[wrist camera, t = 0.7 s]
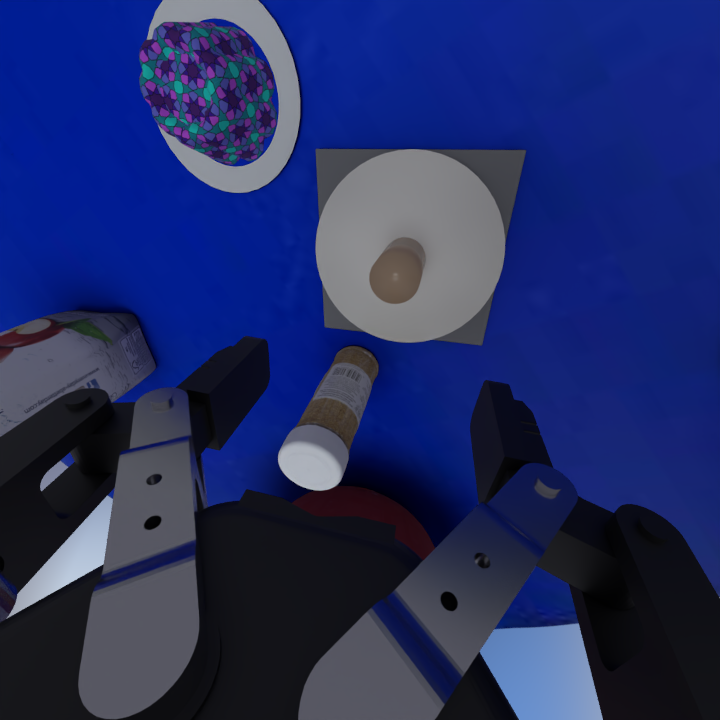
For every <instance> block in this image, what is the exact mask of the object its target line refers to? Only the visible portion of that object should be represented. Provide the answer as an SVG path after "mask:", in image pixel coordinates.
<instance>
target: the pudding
mask: <svg viewBox="0 0 720 720" xmlns="http://www.w3.org/2000/svg"><path fill="white" fill-rule="evenodd" d="M211 18H217V19H225V20H227V21H230V22H233V23H235V24H236V25H238V26H240V27H241V28H243V29H244V30H245V31H246V32H247V33H249V34H250V35H251V36H252V37H253V38H254V40H255V41H256V42H257V43H258V45H259V46H260V47H261V49H262V50H263V52H264V54H265V56H266V57H267V59H268V61H269V64H270V66H271V68H272V71H273V73H274V77H275V81H276V85H277V90H278V98H279V116H278V124H277V128H276V132H275V135H274V138H273V140H272V142H271V144H270V146H269V148H268V149H267V150H266V152H265V153H264V154H263V155H262V156H261V157H260V158H259V159H258V160H256V161H255V162H253V163H251V164H248V165H245V166H240V167H232V166H226V165H223V164H220V163H218V162H216V161H214V160H212V159H211V158H213V159H215V160H217V161H220V162H222V163H224V164H235V163H236V162H237V161H238V160H239V159H240V158H242V159H245V160H247V161H252V160H255V159H257V158H258V157H259V156H260V155H261V153H262V152H263V144H264V139H265V138H267V137H269V136H271V135H272V134H273V132H274V129H275V127H276V118H277V112H276V110H275V108H274V106H273V103H272V101H271V98H272V94H273V91H274V81H273V76H272V73H271V71H270V69H269V67H268V65H267V63H266V62H265V61H263V60H261V59H259V58H258V57H256V56H255V53H254V49H253V45H252V41H251V40H250V39H249V38H248V36H247V35H246V34H245V33H244V32H243V31H241V30H239V29H236V28H234V27H217V26H216V25H215V24H214V23H201V22H200V21H202V20H205V19H211ZM139 60H140V63H141V67H142V73H141V75H140V78H139V81H140V89H141V92H142V94H143V97H144V99H145V100H146V101H147V102H148V103H149V104H150V105H151V109H152V114H153V117H154V119H155V121H156V122H157V124H158V126H159V128H160V131H161V133H162V135H163V136H164V138H165V140H166V142H167V144H168V145H169V147H170V148H171V150H172V151H173V153H174V154H175V155H176V157H177V158H178V159H179V161H180V162H181V163H182V164H183V165H184V166H185V167H186V168H187V169H188V170H189V171H190V172H191V173H192V174H194V175H195V176H196V177H197V178H199V179H200V180H201V181H203V182H205V183H206V184H208V185H210V186H212V187H214V188H217V189H220V190H222V191H227V192H233V193H242V192H250V191H253V190H257V189H259V188H261V187H263V186H264V185H266V184H268V183H269V182H270V181H272V180H273V179H274V178H275V177H276V176H277V175H278V174H279V173H280V171H281V170H282V169H283V167H284V166H285V165H286V163H287V161H288V159H289V157H290V155H291V153H292V151H293V148H294V145H295V141H296V138H297V134H298V128H299V121H300V92H299V84H298V77H297V73H296V69H295V65H294V61H293V58H292V55H291V53H290V50H289V47H288V45H287V42H286V40H285V38H284V36H283V34H282V32H281V31H280V29H279V27H278V25H277V23H276V22H275V20H274V19H273V18H272V16H271V15H270V14H269V12H268V11H267V10H266V8H265V7H264V6H263V5H262V4H261V3H260V2H259V1H258V0H163V1H162V2H161V4H160V5H159V7H158V9H157V10H156V12H155V15H154V17H153V20H152V22H151V25H150V28H149V33H148V37H147V40H145V41H144V43H143V44H142V46H141V48H140V55H139ZM208 156H209V157H211V158H209V157H208Z"/></svg>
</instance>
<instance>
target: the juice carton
mask: <svg viewBox="0 0 720 720" xmlns="http://www.w3.org/2000/svg"><path fill="white" fill-rule="evenodd" d="M155 368H156V365H155V362H154V359H153V357H152V355H151V353H150V350H149V348H148V346H147V344H146V341H145V339H144V336H143V334H142V331H141V328H140V326H139V323H138V321H137V319H136V317H135V316H134V315H133V314H127V313H99V312H91V311H81V310H73V311H66V312H61V313H56V314H52V315H48V316H45V317H42V318H39V319H36V320H33V321H31V322H28V323H25V324H23V325H20V326H18V327H15V328H12V329H10V330H7V331H4V332H2V333H0V437H1V436H2V435H4V434H5V433H7V432H8V431H10V430H11V429H13V428H14V427H16V426H17V425H19V424H20V423H22V422H23V421H25V420H26V419H28V418H29V417H31V416H32V415H34V414H35V413H37V412H38V411H39V410H41V409H42V408H44V407H45V406H47V405H48V404H50V403H51V402H53V401H54V400H56V399H57V398H59V397H61V396H63V395H65V394H67V393H70V392H73V391H76V390H80V389H86V388H99V389H102V390H105V391H106V392H107V393H108V395H109V398H110V400H111V403H112V402H114V401H115V400H117V399H118V398H119V397H121V396H122V395H124V394H125V393H126V392H128V391H129V390H130V389H132V388H133V387H134V386H136V385H137V384H138V383H139V382H141V381H142V380H143V379H144V378H146V377H147V376H148V375H149V374H151V373H152V372H153V371H154V370H155Z"/></svg>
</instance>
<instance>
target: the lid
mask: <svg viewBox="0 0 720 720" xmlns="http://www.w3.org/2000/svg"><path fill="white" fill-rule="evenodd" d="M504 255H505V234H504V226H503V222H502V218H501V214H500V211H499V209H498V207H497V204H496V202H495V200H494V198H493V196H492V195H491V193H490V191H489V190H488V188H487V187H486V186H485V184H484V183H483V182H482V181H481V180H480V179H479V177H478V176H477V175H475V174H474V173H473V172H472V171H471V170H470V169H468V168H467V167H466V166H464V165H463V164H461V163H460V162H458V161H456V160H455V159H452V158H450V157H448V156H445V155H443V154H440V153H436V152H432V151H428V150H417V149H408V150H397V151H392V152H388V153H384V154H381V155H379V156H376V157H374V158H371V159H370V160H368V161H366V162H364V163H363V164H361V165H359V166H358V167H357V168H355V169H354V170H353V171H351V172H350V173H349V174H348V175H347V176H346V177H345V178H344V179H343V180H342V181H341V182H340V183H339V184H338V186H337V187H336V188H335V190H334V191H333V192H332V194H331V196H330V197H329V199H328V201H327V203H326V205H325V207H324V209H323V212H322V214H321V217H320V221H319V225H318V229H317V236H316V259H317V266H318V270H319V274H320V278H321V280H322V283H323V286H324V288H325V290H326V292H327V294H328V296H329V298H330V299H331V301H332V302H333V304H334V305H335V306H336V308H337V309H338V310H339V311H340V312H341V313H342V314H343V315H344V316H345V317H346V318H347V319H348V320H349V321H350V322H351V323H353V324H354V325H356V326H357V327H358V328H360V329H362V330H363V331H365V332H367V333H369V334H371V335H374V336H376V337H379V338H382V339H385V340H390V341H395V342H407V343H410V342H422V341H428V340H432V339H436V338H439V337H442V336H444V335H446V334H449V333H451V332H453V331H455V330H456V329H458V328H460V327H461V326H463V325H464V324H465V323H467V322H468V321H469V320H471V319H472V318H473V317H474V316H475V315H476V314H477V313H478V312H479V311H480V310H481V308H482V307H483V306H484V305H485V303H486V302H487V301H488V299H489V298H490V296H491V294H492V293H493V291H494V289H495V287H496V284H497V282H498V280H499V277H500V274H501V271H502V267H503V262H504Z"/></svg>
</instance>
